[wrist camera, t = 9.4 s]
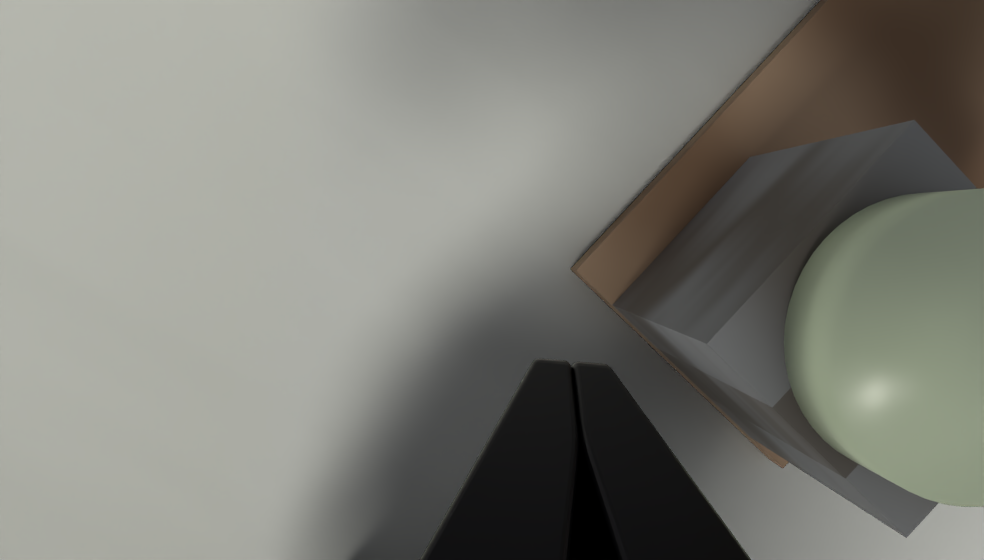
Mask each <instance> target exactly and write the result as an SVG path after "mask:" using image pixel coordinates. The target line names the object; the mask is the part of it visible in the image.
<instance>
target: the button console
mask: <svg viewBox="0 0 984 560" xmlns="http://www.w3.org/2000/svg"><path fill="white" fill-rule="evenodd" d="M982 188H984V0H820V1H819V2H818V4H817V5H816V6H815V7H814V8H813V9H812V10H811V11H810V12H809V13H808V14H807V15H806V16H805V18H804V19H803V20H802V21H801V22H800V23H799V24H798V25H797V26H796V27H795V28H794V29H793V30H792V31H791V33H790V34H789V35H788V36H787V37H786V38H785V39H784V40H783V41H782V42H781V43H780V44H779V45H778V47H777V48H776V49H775V50H774V51H773V52H772V53H771V54H770V55H769V56H768V57H767V58H766V59H765V60H764V62H763V63H762V64H761V65H760V66H759V67H758V68H757V69H756V70H755V71H754V72H753V73H752V74H751V76H750V77H749V78H748V79H747V80H746V81H745V82H744V83H743V84H742V85H741V86H740V87H739V88H738V89H737V91H736V92H735V93H734V94H733V95H732V96H731V97H730V98H729V99H728V100H727V101H726V102H725V103H724V105H723V106H722V107H721V108H720V109H719V110H718V111H717V112H716V113H715V114H714V115H713V116H712V117H711V118H710V120H709V121H708V122H707V123H706V124H705V125H704V126H703V127H702V128H701V129H700V130H699V131H698V132H697V134H696V135H695V136H694V137H693V138H692V139H691V140H690V141H689V142H688V143H687V144H686V145H685V146H684V147H683V149H682V150H681V151H680V152H679V153H678V154H677V155H676V156H675V157H674V158H673V159H672V160H671V161H670V163H669V164H668V165H667V166H666V167H665V168H664V169H663V170H662V171H661V172H660V173H659V174H658V175H657V176H656V178H655V179H654V180H653V181H652V182H651V183H650V184H649V185H648V186H647V187H646V188H645V189H644V190H643V192H642V193H641V194H640V195H639V196H638V197H637V198H636V199H635V200H634V201H633V202H632V203H631V204H630V205H629V207H628V208H627V209H626V210H625V211H624V212H623V213H622V214H621V215H620V216H619V217H618V218H617V219H616V221H615V222H614V223H613V224H612V225H611V226H610V227H609V228H608V229H607V230H606V231H605V232H604V233H603V234H602V236H601V237H600V238H599V239H598V240H597V241H596V242H595V243H594V244H593V245H592V246H591V247H590V248H589V250H588V251H587V252H586V253H585V254H584V255H583V256H582V257H581V258H580V259H579V260H578V261H577V262H576V263H575V265H574V266H573V267H572V268H571V270H572V271H573V272H574V273H575V274H576V275H577V276H578V277H579V278H580V279H581V280H582V281H583V282H584V283H585V284H587V285H588V286H589V287H590V288H591V289H592V290H593V291H594V292H595V293H596V294H597V295H598V296H599V297H600V298H601V299H602V300H603V301H604V302H605V303H606V304H607V305H608V306H610V307H611V308H612V309H613V310H614V311H615V312H616V313H617V314H618V315H619V316H620V317H621V318H622V319H623V320H624V321H625V322H626V323H627V324H628V325H629V326H630V327H631V328H633V329H634V330H635V331H636V332H637V333H638V334H639V335H640V336H641V337H642V338H643V339H644V340H645V341H646V342H647V343H648V344H649V345H650V346H651V347H652V348H653V349H654V350H656V351H657V352H658V353H659V354H660V355H661V356H662V357H663V358H664V359H665V360H666V361H667V362H668V363H669V364H670V365H671V366H672V367H673V368H674V369H675V370H676V371H677V372H679V373H680V374H681V375H682V376H683V377H684V378H685V379H686V380H687V381H688V382H689V383H690V384H691V385H692V386H693V387H694V388H695V389H696V390H697V391H698V392H699V393H700V394H702V395H703V396H704V397H705V398H706V399H707V400H708V401H709V402H710V403H711V404H712V405H713V406H714V407H715V408H716V409H717V410H718V411H719V412H720V413H721V414H722V415H723V416H725V417H726V418H727V419H728V420H729V421H730V422H731V423H732V424H733V425H734V426H735V427H736V428H737V429H738V430H739V431H740V432H741V433H742V434H743V435H744V436H745V437H746V438H748V439H749V440H750V441H751V442H752V443H753V444H754V445H755V446H756V447H757V448H758V449H759V450H760V451H761V452H762V453H763V454H764V455H765V456H766V457H767V458H768V459H769V460H771V461H772V462H774V463H775V464H777V465H778V466H780V467H781V468H784V467H785V466H786V464H787V463H788V462H790V463H791V464H793V465H794V466H796V467H797V468H799V469H800V470H802V471H803V472H805V473H807V474H808V475H810V476H811V477H813V478H814V479H816V480H817V481H819V482H821V483H822V484H824V485H825V486H827V487H828V488H830V489H831V490H833V491H835V492H836V493H838V494H839V495H841V496H842V497H844V498H845V499H847V500H849V501H850V502H852V503H853V504H855V505H856V506H858V507H859V508H861V509H862V510H864V511H866V512H867V513H869V514H870V515H872V516H873V517H875V518H876V519H878V520H880V521H881V522H883V523H884V524H886V525H887V526H889V527H890V528H892V529H894V530H895V531H897V532H898V533H900V534H901V535H903V536H904V537H906V538H907V537H908V535H909V534H910V533H911V532H912V531H913V530H914V529H915V528H916V527H917V526H918V525H919V524H920V522H921V521H922V520H923V519H924V518H925V517H926V516H927V515H928V514H929V513H930V512H931V510H932V509H933V508H934V507H935V506H936V505H937V504H938V502H935V501H931V500H928V499H925V498H922V497H920V496H918V495H916V494H913V493H911V492H909V491H907V490H905V489H903V488H902V487H900V486H898V485H896V484H894V483H892V482H891V481H889V480H887V479H885V478H883V477H881V476H880V475H878V474H876V473H874V472H872V471H870V470H868V469H867V468H865V467H863V466H861V465H859V464H857V463H856V462H854V461H852V460H850V459H849V458H847V457H845V456H844V455H842V454H841V453H839V452H837V451H836V450H835V449H834V448H832V447H831V446H830V445H829V444H828V443H827V442H825V441H824V440H823V439H822V438H821V437H820V436H819V434H818V433H817V432H816V431H815V430H814V429H813V428H812V427H811V425H810V424H809V422H808V421H807V419H806V418H805V416H804V415H803V413H802V411H801V409H800V407H799V405H798V403H797V401H796V399H795V397H794V394H793V391H792V388H791V385H790V382H789V379H788V374H787V369H786V364H785V353H784V333H785V321H786V316H787V311H788V306H789V302H790V299H791V296H792V293H793V290H794V287H795V285H796V283H797V281H798V278H799V276H800V274H801V272H802V270H803V268H804V267H805V265H806V263H807V262H808V260H809V259H810V257H811V255H812V254H813V252H814V251H815V250H816V249H817V248H818V246H819V245H820V244H821V243H822V241H823V240H824V239H825V238H826V237H827V236H828V235H829V234H830V233H831V232H832V231H833V230H834V229H835V228H836V227H838V226H839V225H840V224H841V223H843V222H844V221H845V220H847V219H848V218H849V217H851V216H852V215H854V214H855V213H857V212H859V211H861V210H863V209H864V208H866V207H868V206H870V205H872V204H875V203H877V202H880V201H883V200H885V199H888V198H893V197H897V196H901V195H906V194H916V193H928V192H941V191H955V190H968V189H982Z"/></svg>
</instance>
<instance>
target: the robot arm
mask: <svg viewBox="0 0 984 560" xmlns="http://www.w3.org/2000/svg"><path fill="white" fill-rule="evenodd" d="M420 560H751V559H750V558H749V556H748V555H747V554H746V552H745V551H744V549H743V548H742V547H741V545H740V544H739V543H738V541H737V540H736V538H735V537H734V536H733V534H732V533H731V532H730V530H729V529H728V527H727V526H726V525H725V523H724V522H723V521H722V519H721V518H720V517H719V515H718V514H717V512H716V511H715V510H714V508H713V507H712V506H711V504H710V503H709V501H708V500H707V499H706V497H705V496H704V495H703V493H702V492H701V490H700V489H699V488H698V486H697V485H696V484H695V482H694V481H693V480H692V478H691V477H690V475H689V474H688V473H687V471H686V470H685V469H684V467H683V466H682V464H681V463H680V462H679V460H678V459H677V458H676V456H675V455H674V453H673V452H672V451H671V449H670V448H669V447H668V445H667V444H666V443H665V441H664V440H663V438H662V437H661V436H660V434H659V433H658V432H657V430H656V429H655V427H654V426H653V425H652V423H651V422H650V421H649V419H648V418H647V416H646V415H645V414H644V412H643V411H642V410H641V408H640V407H639V406H638V404H637V403H636V401H635V400H634V399H633V397H632V396H631V395H630V393H629V392H628V390H627V389H626V388H625V386H624V385H623V384H622V382H621V381H620V379H619V378H618V377H617V375H616V374H615V373H614V371H613V370H612V369H611V368H610V367H609V366H608V365H606V364H599V363H587V362H575V363H574V364H573V365H572V366H570V364H569V363H568V362H567V361H564V360H553V359H541V358H539V359H536V360H534V361H533V362H532V364H531V365H530V367H529V369H528V371H527V372H526V374H525V376H524V378H523V379H522V381H521V383H520V385H519V386H518V388H517V390H516V392H515V393H514V395H513V397H512V399H511V400H510V402H509V404H508V406H507V408H506V409H505V411H504V413H503V415H502V416H501V418H500V420H499V422H498V423H497V425H496V427H495V429H494V430H493V432H492V434H491V436H490V437H489V439H488V441H487V443H486V444H485V446H484V448H483V450H482V451H481V453H480V455H479V457H478V459H477V460H476V462H475V464H474V466H473V467H472V469H471V471H470V473H469V474H468V476H467V478H466V480H465V481H464V483H463V485H462V487H461V488H460V490H459V492H458V494H457V495H456V497H455V499H454V501H453V502H452V504H451V506H450V508H449V510H448V511H447V513H446V515H445V517H444V518H443V520H442V522H441V524H440V525H439V527H438V529H437V531H436V532H435V534H434V536H433V538H432V539H431V541H430V543H429V545H428V546H427V548H426V550H425V552H424V553H423V555H422V557H421V559H420Z"/></svg>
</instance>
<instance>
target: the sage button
mask: <svg viewBox="0 0 984 560" xmlns="http://www.w3.org/2000/svg"><path fill="white" fill-rule="evenodd" d="M784 353H785V364H786V369H787V374H788V379H789V382H790V385H791V388H792V391H793V394H794V397H795V399H796V401H797V403H798V405H799V407H800V409H801V411H802V413H803V415H804V416H805V418H806V419H807V421H808V422H809V424H810V425H811V427H812V428H813V429H814V430H815V431H816V432H817V433H818V434H819V436H820V437H821V438H822V439H823V440H824V441H825V442H827V443H828V444H829V445H830V446H831V447H832V448H834V449H835V450H836V451H837V452H839V453H841V454H842V455H844V456H845V457H847V458H849V459H850V460H852V461H854V462H856V463H857V464H859V465H861V466H863V467H865V468H867V469H868V470H870V471H872V472H874V473H876V474H878V475H880V476H881V477H883V478H885V479H887V480H889V481H891V482H892V483H894V484H896V485H898V486H900V487H902V488H903V489H905V490H907V491H909V492H911V493H913V494H916V495H918V496H920V497H922V498H925V499H928V500H931V501H935V502H938V503H942V504H946V505H954V506H961V507H983V506H984V188H982V189H968V190H955V191H941V192H928V193H916V194H906V195H901V196H897V197H893V198H888V199H885V200H883V201H880V202H877V203H875V204H872V205H870V206H868V207H866V208H864V209H863V210H861V211H859V212H857V213H855V214H854V215H852V216H851V217H849V218H848V219H847V220H845V221H844V222H843V223H841V224H840V225H839V226H838V227H836V228H835V229H834V230H833V231H832V232H831V233H830V234H829V235H828V236H827V237H826V238H825V239H824V240H823V241H822V243H821V244H820V245H819V246H818V248H817V249H816V250H815V251H814V252H813V254H812V255H811V257H810V259H809V260H808V262H807V263H806V265H805V267H804V268H803V270H802V272H801V274H800V276H799V278H798V281H797V283H796V285H795V287H794V290H793V293H792V296H791V299H790V302H789V306H788V311H787V316H786V321H785V333H784Z"/></svg>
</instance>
